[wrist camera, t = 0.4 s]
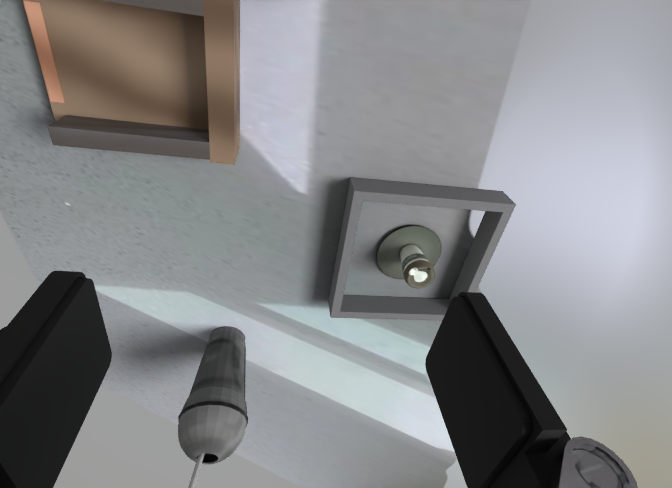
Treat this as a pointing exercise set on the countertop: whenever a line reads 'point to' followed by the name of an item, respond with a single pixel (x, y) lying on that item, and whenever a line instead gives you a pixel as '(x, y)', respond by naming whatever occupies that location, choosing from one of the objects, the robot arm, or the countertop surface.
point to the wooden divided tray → (142, 74)
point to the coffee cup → (410, 255)
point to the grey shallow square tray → (423, 195)
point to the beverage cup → (216, 402)
